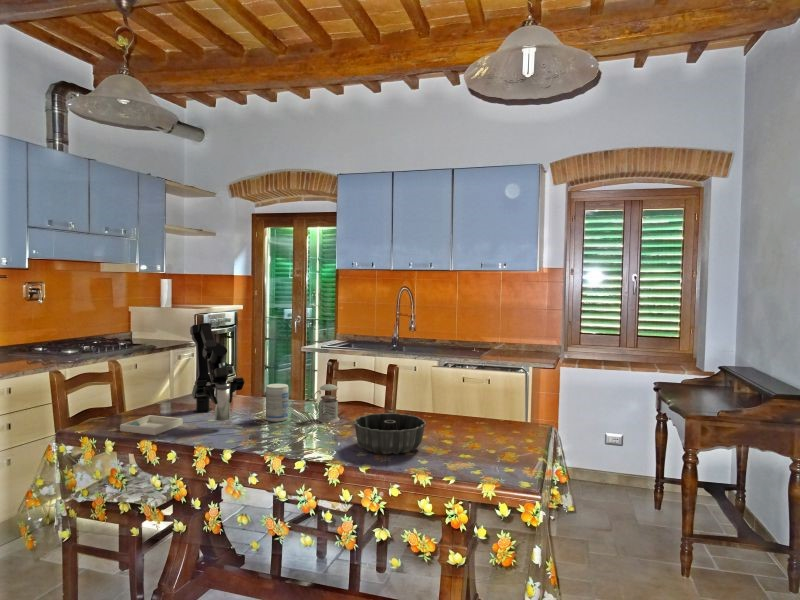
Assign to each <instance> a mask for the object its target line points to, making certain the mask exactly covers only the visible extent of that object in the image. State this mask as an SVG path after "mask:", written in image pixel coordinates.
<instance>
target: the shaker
mask: <svg viewBox="0 0 800 600" xmlns="http://www.w3.org/2000/svg"><path fill="white" fill-rule="evenodd" d="M214 394H215V398H216V405H215V404H214V420H215V421H217V422H218V421H220V422H221V421H228V420H230V413H231V412H230V411H231V410H230V409H231V403H230V383H216V384H215V392H214Z"/></svg>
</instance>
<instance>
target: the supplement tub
mask: <svg viewBox="0 0 800 600" xmlns="http://www.w3.org/2000/svg"><path fill="white" fill-rule="evenodd" d="M265 387H266V388H265V420H266V421H268V422H273V423H274V422H276V423H277V422H284V421H287V420H288V419H289V385H288V384H286V383H270V384H267V385H266V386H265Z"/></svg>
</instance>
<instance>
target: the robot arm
mask: <svg viewBox="0 0 800 600" xmlns="http://www.w3.org/2000/svg"><path fill="white" fill-rule="evenodd" d="M189 334H190V336H191V339H192V341H193V343H194V344H195V348H196V349H195V350H196V364H197V367H196V368H197V378H196V379H195V381H194V385H193V388H192V391H191V394H192V395H191V396H192V398H193V399H195V401H196V403H195V406H196V407H195V409H194V410H193V411H192V412H193V413H209V412H211V411H212V410H213V407H211V405H210V404H211V403H210V402H212V403H213V405H214V406H215V405H216V398H215V384H216V383H230V404H232V400H233V396H234V393H235V392H236V391H242V389H243V387H244V384H245V379H244V377H241V376H240V377H233V378H232V381H227V380H228V379H229V375H233V373H234V369H233V365H227V366H224V364H223V363H224V362H225V360H226V356H227V354H228V349H227V347H225V346H224V345H222V344H221V343H220V342H218V341H216V340H215V336H214V334H213V331H212V324H211V323H210V322H199V323H197V324H193V325H191V326H190V328H189Z"/></svg>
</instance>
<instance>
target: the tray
mask: <svg viewBox="0 0 800 600" xmlns="http://www.w3.org/2000/svg"><path fill="white" fill-rule="evenodd" d="M183 420H184V418H182V417H181V418H180V417H171V416H169V417H168V416H162V415H151V414H148V415H146V416H142V417H140V418H137V419H136V418H135V419H133V420H131V421H127V422H124V423H122V424H119V425H120V426H119V431H120V432H124V433H132V434H133V433H135V434H142V435H149V436H150V435H151V436H156V435H159V434H162V433H164V432H167V431H169V430H173V429H174V428H178V427H180V426H183V425H184V423H183V422H184V421H183ZM135 421H137V422H139V424H140V426H135V425H131V424H132V423H133V422H135Z"/></svg>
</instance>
